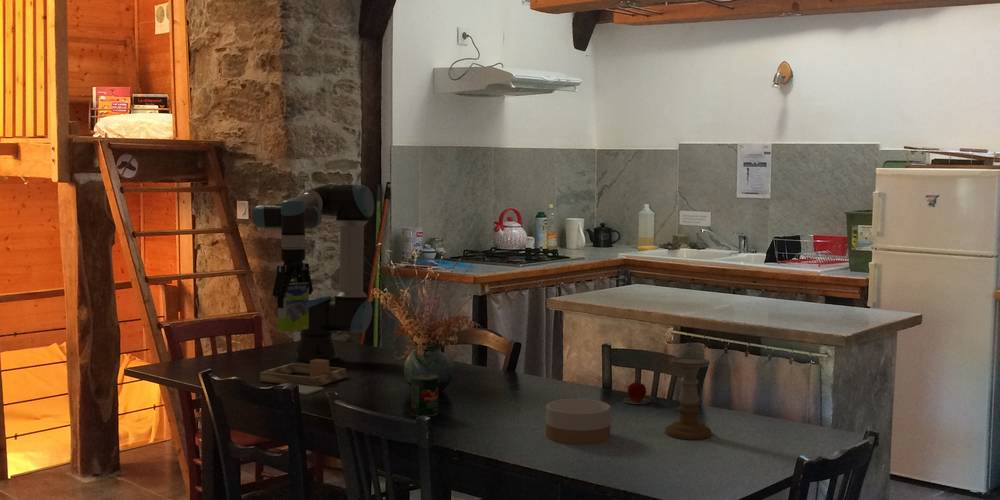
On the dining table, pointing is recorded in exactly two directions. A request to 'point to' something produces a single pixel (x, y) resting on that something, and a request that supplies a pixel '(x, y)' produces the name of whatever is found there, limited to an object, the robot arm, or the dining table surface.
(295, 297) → the box
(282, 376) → the crate frame
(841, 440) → the dining table surface
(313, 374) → the terracotta block
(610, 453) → the dining table surface
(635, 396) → the apple
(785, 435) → the dining table surface
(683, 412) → the candle holder
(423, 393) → the canned tomato
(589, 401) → the brown round container
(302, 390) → the sage mat
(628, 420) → the dining table surface
